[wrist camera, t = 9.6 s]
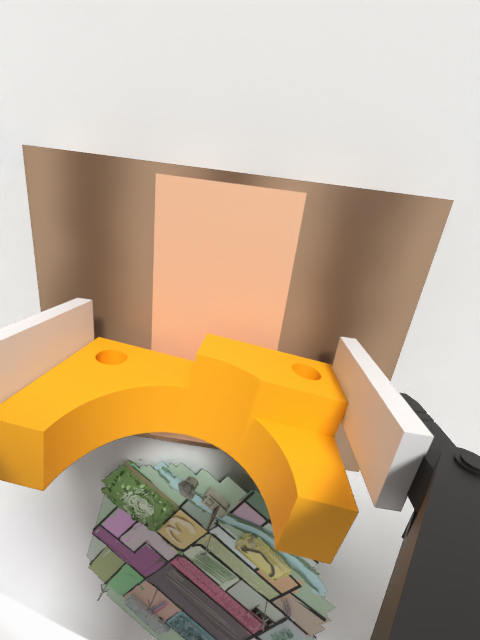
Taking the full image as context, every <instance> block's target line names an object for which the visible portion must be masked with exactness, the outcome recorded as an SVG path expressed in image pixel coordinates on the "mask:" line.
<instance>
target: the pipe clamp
mask: <svg viewBox="0 0 480 640" xmlns="http://www.w3.org/2000/svg"><path fill="white" fill-rule="evenodd" d="M347 406H348V401H347V398H346V396H345V394H344V392H343V390H342V388H341V386H340V384H339V381H338V379H337V377H336V375H335V373H334V371H333V369H332V365H331V364H327V363H323V362H319V361H315V360H311V359H308V358H304V357H300V356H296V355H292V354H288V353H284V352H280V351H276V350H272V349H268V348H264V347H260V346H257V345H253V344H249V343H245V342H241V341H237V340H233V339H229V338H225V337H221V336H217V335H213V334H209V333H207V335H206V337H205V338H204V340H203V342H202V344H201V346H200V348H199V350H198V352H197V354H196V358H195V361H191V360H187V359H184V358H180V357H176V356H172V355H168V354H164V353H160V352H156V351H152V350H148V349H144V348H140V347H136V346H133V345H129V344H125V343H121V342H117V341H113V340H109V339H105V338H101V337H98V338H97V339H95V340H94V341H92V342H91V343H89V344H88V345H86V346H85V347H83V348H82V349H81V350H79V351H78V352H76V353H75V354H73V355H72V356H70V357H69V358H67V359H66V360H64V361H63V362H61V363H60V364H59V365H57V366H56V367H54V368H53V369H51V370H50V371H48V372H47V373H45V374H44V375H42V376H41V377H39V378H38V379H37V380H35V381H34V382H32V383H31V384H29V385H28V386H26V387H25V388H23V389H22V390H20V391H19V392H17V393H16V394H15V395H13V396H12V397H10V398H9V399H7V400H6V401H4V402H3V403H1V404H0V480H2V481H6V482H10V483H14V484H18V485H22V486H26V487H29V488H33V489H37V490H41V491H44V490H45V489H46V488H47V487H48V486H49V484H50V483H51V482H52V481H53V480H54V479H55V478H56V477H57V476H58V475H59V474H60V473H61V472H63V471H64V470H65V469H66V468H67V467H69V466H70V465H71V464H72V463H74V462H75V461H76V460H78V459H79V458H81V457H82V456H84V455H85V454H87V453H89V452H90V451H92V450H94V449H96V448H98V447H100V446H102V445H104V444H106V443H109V442H111V441H114V440H117V439H120V438H123V437H127V436H131V435H135V434H142V433H151V432H170V433H178V434H184V435H188V436H192V437H196V438H199V439H201V440H204V441H206V442H209V443H211V444H213V445H214V446H216V447H218V448H220V449H221V450H223V451H224V452H226V453H227V454H229V455H230V456H231V457H232V458H234V459H235V460H236V461H237V462H238V463H239V464H240V465H241V466H242V467H243V468H244V469H245V470H246V472H247V473H248V474H249V475H250V477H251V478H252V479H253V481H254V482H255V484H256V486H257V487H258V489H259V491H260V493H261V495H262V497H263V499H264V501H265V504H266V506H267V509H268V512H269V515H270V519H271V523H272V528H273V533H274V542H275V550H277V551H281V552H285V553H288V554H292V555H296V556H300V557H304V558H308V559H312V560H316V561H320V562H324V563H328V564H331V562H332V560H333V558H334V557H335V555H336V553H337V551H338V549H339V547H340V546H341V544H342V542H343V540H344V538H345V536H346V535H347V533H348V531H349V529H350V527H351V525H352V524H353V522H354V520H355V518H356V516H357V514H358V513H359V511H358V508H357V505H356V502H355V499H354V496H353V493H352V490H351V487H350V484H349V481H348V477H347V474H346V471H345V468H344V465H343V462H342V459H341V456H340V453H339V450H338V447H337V444H336V441H335V438H334V437H335V434H336V432H337V430H338V428H339V425H340V423H341V421H342V419H343V416H344V414H345V412H346V409H347Z"/></svg>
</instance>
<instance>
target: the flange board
mask: <svg viewBox="0 0 480 640" xmlns="http://www.w3.org/2000/svg"><path fill="white" fill-rule="evenodd" d="M22 148H23V157H24V165H25V174H26V183H27V192H28V201H29V210H30V219H31V227H32V236H33V245H34V254H35V263H36V272H37V281H38V289H39V298H40V307H41V312H43V311H45V310H48V309H50V308H53V307H55V306H58V305H60V304H63V303H66V302H68V301H71V300H73V299H76V298H83V299H89V300H92V302H93V323H94V340H95V339H97V338H98V337H101V338H105V339H109V340H113V341H117V342H121V343H125V344H129V345H133V346H136V347H140V348H144V349H148V350H152V351H156V352H160V353H164V354H168V355H172V356H176V357H180V358H184V359H187V360H191V361H195V358H196V354H197V352H198V350H199V348H200V346H201V344H202V342H203V340H204V338H205V337H206V335H207V333H209V334H213V335H217V336H221V337H225V338H229V339H233V340H237V341H241V342H245V343H249V344H253V345H257V346H260V347H264V348H268V349H272V350H276V351H280V352H284V353H288V354H292V355H296V356H300V357H304V358H308V359H311V360H315V361H319V362H323V363H327V364H331V365H333V361H334V358H335V354H336V350H337V346H338V343H339V339H340V337H347V338H354V339H357V341H358V342H359V343H360V344H361V346H362V347H363V348H364V350H365V351H366V352H367V353H368V355H369V356H370V357H371V358H372V360H373V361H374V362H375V363H376V365H377V366H378V367H379V368H380V370H381V371H382V372H383V373H384V375H385V376H386V377H387V378H388V380H389V381H391V378H392V375H393V372H394V369H395V367H396V364H397V361H398V358H399V355H400V352H401V349H402V347H403V344H404V341H405V338H406V335H407V332H408V329H409V327H410V324H411V321H412V318H413V315H414V312H415V309H416V307H417V304H418V301H419V298H420V295H421V292H422V289H423V287H424V284H425V281H426V278H427V275H428V272H429V269H430V267H431V264H432V261H433V258H434V255H435V252H436V249H437V247H438V244H439V241H440V238H441V235H442V232H443V229H444V227H445V224H446V221H447V218H448V215H449V212H450V209H451V207H452V204H453V201H454V200H447V199H439V198H432V197H424V196H416V195H408V194H401V193H393V192H385V191H377V190H370V189H362V188H354V187H346V186H339V185H331V184H323V183H315V182H308V181H300V180H292V179H284V178H277V177H269V176H261V175H253V174H246V173H238V172H230V171H222V170H215V169H207V168H199V167H191V166H184V165H176V164H168V163H161V162H153V161H145V160H137V159H130V158H122V157H114V156H106V155H99V154H91V153H83V152H75V151H68V150H60V149H52V148H44V147H37V146H29V145H22ZM134 436H140V437H146V438H152V439H159V440H165V441H171V442H177V443H183V444H189V445H196V446H202V447H208V448H214V449H220V448H218V447H216V446H214V445H213V444H211V443H209V442H206V441H204V440H201V439H199V438H196V437H192V436H188V435H184V434H178V433H170V432H151V433H142V434H135V435H134ZM334 438H335V441H336V444H337V447H338V450H339V453H340V456H341V459H342V462H343V465H344V468H345V470H349V471H356V472H359V470H360V469H359V466H358V463H357V461H356V458H355V456H354V453H353V451H352V448H351V445H350V443H349V440H348V438H347V435H346V432H345V430H344V427H343V425H342V422H341V423H340V425H339V428H338V430H337V432H336V434H335V437H334ZM220 450H221V449H220Z"/></svg>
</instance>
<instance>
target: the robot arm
mask: <svg viewBox="0 0 480 640" xmlns="http://www.w3.org/2000/svg"><path fill="white" fill-rule="evenodd" d="M92 341H94V323H93V302H92V300H89V299H83V298H76V299H73V300H71V301H68V302H66V303H63V304H60V305H58V306H55V307H53V308H50V309H48V310H45V311H43V312H40V313H38V314H35V315H33V316H30V317H28V318H25V319H23V320H20V321H18V322H15V323H12V324H10V325H7V326H5V327H2V328H0V404H1V403H3V402H4V401H6V400H7V399H9V398H10V397H12V396H13V395H15V394H16V393H17V392H19V391H20V390H22V389H23V388H25V387H26V386H28V385H29V384H31V383H32V382H34V381H35V380H37V379H38V378H39V377H41V376H42V375H44V374H45V373H47V372H48V371H50V370H51V369H53V368H54V367H56V366H57V365H59V364H60V363H61V362H63V361H64V360H66V359H67V358H69V357H70V356H72V355H73V354H75V353H76V352H78V351H79V350H81V349H82V348H83V347H85V346H86V345H88V344H89V343H91V342H92ZM332 369H333V371H334V373H335V375H336V377H337V379H338V381H339V384H340V386H341V388H342V390H343V392H344V394H345V396H346V398H347V401H348V406H347V409H346V412H345V414H344V416H343V419H342V421H341V422H342V425H343V427H344V430H345V432H346V435H347V438H348V440H349V443H350V445H351V448H352V451H353V453H354V456H355V458H356V461H357V463H358V466H359V469H360V471H361V474H362V476H363V479H364V481H365V484H366V487H367V489H368V492H369V494H370V497H371V499H372V502H373V505H374V507H376V508H382V509H388V510H394V511H400V512H401V510H402V508H403V505H404V503H405V501H406V499H407V496H408V498H409V500H410V501H411V503H412V505H413V507H414V509H415V510H414V512H413V514H412V516H411V518H410V520H409V523H408V525H407V527H406V529H405V531H404V533H403V535H402V538H403V542H402V545H401V548H400V551H399V554H398V557H397V560H396V563H395V566H394V569H393V572H392V575H391V578H390V582H389V585H388V588H387V591H386V594H385V597H384V600H383V603H382V606H381V609H380V612H379V615H378V618H377V621H376V624H375V627H374V630H373V633H372V636H371V639H370V640H480V456H478V455H476V454H475V453H473V452H470V451H468V450H465V449H463V448H458V447H456V446H455V445H454V444H453V442H452V441H451V440H450V439H449V438H448V437H447V435H446V434H445V433H444V432H443V431H442V430H441V428H440V427H439V426H438V425H437V424H436V423H435V422H434V420H433V419H432V418H431V417H430V416H429V415H428V414H427V412H426V411H425V410H424V409H423V408H422V406H421V405H420V404H419V403H418V402H417V401H415V400H414V399H412V398H411V397H410V396H408V395H407V394H404V393H399V392H398V391H397V390H396V388H395V387H394V386H393V385H392V383H391V382H390V381H389V380H388V378H387V377H386V376H385V375H384V373H383V372H382V371H381V370H380V368H379V367H378V366H377V365H376V363H375V362H374V361H373V360H372V358H371V357H370V356H369V355H368V353H367V352H366V351H365V350H364V348H363V347H362V346H361V344H360V343H359V342H358V341H357V339H354V338H347V337H340V339H339V343H338V346H337V350H336V354H335V358H334V361H333V365H332Z"/></svg>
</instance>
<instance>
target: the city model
mask: <svg viewBox="0 0 480 640" xmlns="http://www.w3.org/2000/svg"><path fill="white" fill-rule="evenodd" d="M139 460H140V459H139ZM139 460H138V461H139ZM140 461H141V460H140ZM154 468H155V469H156V470H157V471H156V470H155V469H153V468H152V467H151V466H150V465H148V466H147V467H146V466H145V465H142V466H141V467H140V469H139V468H138V467H137V466H136V465H135V463H134V462H132V461H129V460H127V461H126V462H125V463H124V465H123V466H120V465H119V469H117V470H115V471H114V472H112V473H111V474H110V476H108V477H105V478H106V480H102V481H103V482H104V483H105V484H106V485H107V487H105V488H102V489H101V491H102V492H103V493H104V494H105V495H104V499H103V502H102V506H101V509H100V513H99V516H98V519H97V523H96V526H95V528H94V529H93V532H92V534H93V536H92V540H91V543H90V547H89V550H88V554H87V557H88V558H89V559H90V560H91V561H92V562H91V563H90V566H89V569H91V570H92V571H93V572H94V573H95V574H96V575H97V576H98V577H99V578H100V579H101V580H103V581H104V582H105V583H104V585H103V586H102V584H101V589H102V593H101V594H100V597H101V595H102V594H103V593H104V592H108V594H107V595H108V596H109V597H110V598H111V599H112V600H113V601H114V602H116V603H117V604H118V605H119V606H120V607H121V608H122V609H123V610H125V611H126V612H127V613H128V614H129V615H130V616H131V617H133V618H134V619H135V620H136V621H137V622H138V623H139V624H140V625H142V626H143V627H144V628H145V629H146V630H147V631H148V632H150V633H151V634H152V635H153V636H154V637H155V638H156V639H158V640H317V639H316V637H315V636H314V635H315V634H317V633H319V632H321V631H323V630H325V628H323V627H322V626H321V625H320V624H323V623H326V622H329V621H331V620H330V619H329V618H328V617H327V612H329V611H330V610H332V609H334V608H335V607H334V606H332V605H331V604H330V603H329V602H327V601H326V600H325V599H323V598H322V597H321V596H323V597H325V591H327V590H326V587H325V586H324V584H323V583H322V581H321V580H320V578H319V576H318V575H319V573H317V572H316V571H315V570H314V569H312V567H313V566H315V565H317V564H319V562H318V561H316V560H312V559H308V558H304V557H300V556H296V555H292V554H288V553H285V552H281V551H277V550H275V542H274V533H273V528H272V523H271V519H270V515H269V512H268V509H267V506H266V504H265V501H264V499H263V497H262V495H261V494H260V493H259V492H258V491H257V490H255V491H253V490H251V491H250V492H248V493H246V492H245V491H244V490H243V489H242V488H241V487H239V486H238V485H237V484H236V483H235V482H234V481H233V480H232V479H230V478H229V477H226V478H225V479H224V480H222V482H220V483H219V482H218V481H217V480H216V479H215V478H214V477H213V476H212V475H210V474H209V473H208V472H206V471H204V470H203V469H202V470H201V471H200V472H199V473H198V474H197V475H195V474H194V473H193V472H192V471H191V470H189V469H188V468H187V467H186V466H185V465H184V464H182V463H181V464H180V465H179V466H178V467H175V466H174V465H173V464H170V465H169V466H168V467H167V466H166V465H165V464H164V463H163V462H162V461H161V462H160V463H159V464H158V465H157V466H155V467H154ZM105 469H106V468H105ZM216 520H218V521H216ZM103 589H104V590H105V591H104V590H103ZM100 597H99V598H98V600H99V599H100ZM98 600H97V601H98Z"/></svg>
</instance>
